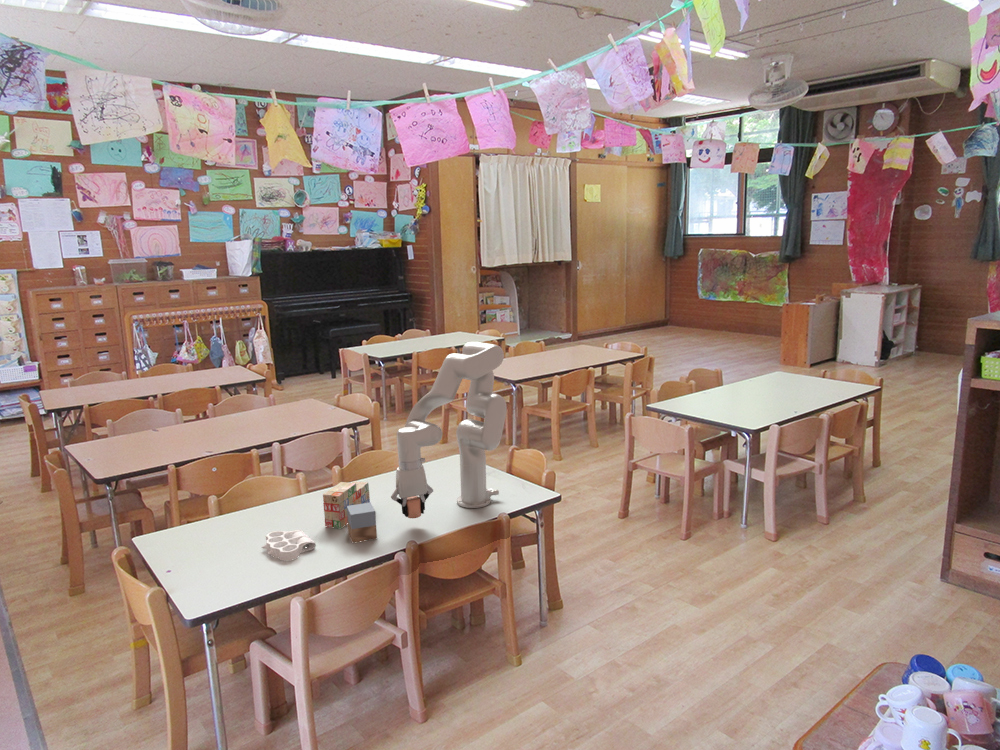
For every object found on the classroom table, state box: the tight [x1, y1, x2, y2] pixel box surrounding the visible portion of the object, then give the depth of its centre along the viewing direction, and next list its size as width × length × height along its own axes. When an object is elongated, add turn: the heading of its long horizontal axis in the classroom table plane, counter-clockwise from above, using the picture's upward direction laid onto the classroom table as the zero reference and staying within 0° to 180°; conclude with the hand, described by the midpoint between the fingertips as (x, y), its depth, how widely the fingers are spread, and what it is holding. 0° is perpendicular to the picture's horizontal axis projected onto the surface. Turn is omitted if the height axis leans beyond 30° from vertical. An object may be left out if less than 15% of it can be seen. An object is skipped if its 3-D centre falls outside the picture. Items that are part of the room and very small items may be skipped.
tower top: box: [347, 501, 377, 529], centre depth 231 cm, size 8×8×5 cm
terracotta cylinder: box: [406, 496, 422, 519], centre depth 238 cm, size 5×5×6 cm
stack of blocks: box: [322, 480, 371, 529], centre depth 248 cm, size 21×6×12 cm, turn 163°
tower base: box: [347, 520, 378, 544], centre depth 232 cm, size 8×8×5 cm
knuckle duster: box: [261, 529, 317, 562], centre depth 224 cm, size 3×18×15 cm
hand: (413, 513), depth 238 cm, fingers closed on terracotta cylinder, 4 cm apart
